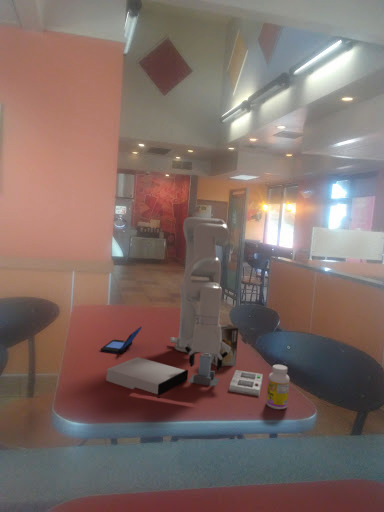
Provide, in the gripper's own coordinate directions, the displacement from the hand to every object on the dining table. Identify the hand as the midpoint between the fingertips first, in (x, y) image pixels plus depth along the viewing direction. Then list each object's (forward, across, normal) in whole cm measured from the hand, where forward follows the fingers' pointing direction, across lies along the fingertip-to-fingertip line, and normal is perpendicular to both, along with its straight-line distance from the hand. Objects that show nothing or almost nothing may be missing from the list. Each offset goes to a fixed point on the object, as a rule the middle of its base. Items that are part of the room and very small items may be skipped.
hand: (205, 367), depth 148 cm
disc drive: (+6, -19, -7) cm, 21 cm away
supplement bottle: (+6, +26, -8) cm, 28 cm away
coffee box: (+6, +3, +22) cm, 23 cm away
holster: (+6, 0, 0) cm, 6 cm away
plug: (+5, 0, 0) cm, 5 cm away
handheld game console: (+6, -42, +24) cm, 49 cm away
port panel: (+6, +15, +2) cm, 16 cm away
